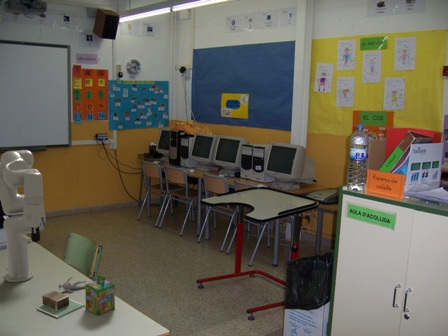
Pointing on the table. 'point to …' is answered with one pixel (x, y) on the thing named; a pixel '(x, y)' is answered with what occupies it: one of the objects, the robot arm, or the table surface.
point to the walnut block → (55, 300)
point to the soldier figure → (71, 285)
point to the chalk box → (100, 296)
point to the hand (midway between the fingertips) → (35, 240)
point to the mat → (59, 313)
